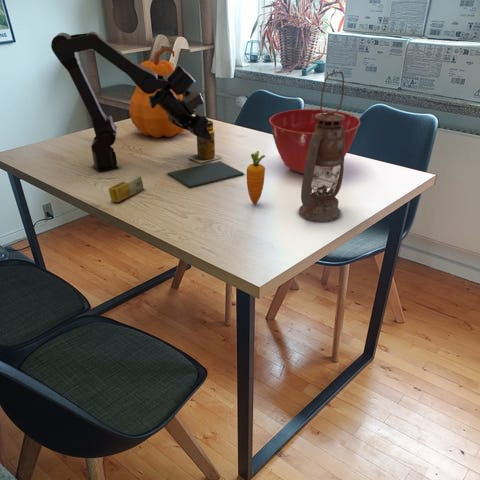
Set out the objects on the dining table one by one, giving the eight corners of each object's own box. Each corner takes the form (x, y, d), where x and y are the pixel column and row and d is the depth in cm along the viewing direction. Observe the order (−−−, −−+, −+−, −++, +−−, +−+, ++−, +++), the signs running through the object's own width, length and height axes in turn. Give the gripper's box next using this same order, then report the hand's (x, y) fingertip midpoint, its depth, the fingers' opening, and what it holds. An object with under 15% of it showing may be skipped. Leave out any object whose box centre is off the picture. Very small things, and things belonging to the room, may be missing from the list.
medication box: (137, 188, 148) (134, 175, 145) (144, 189, 146) (142, 176, 144) (110, 201, 139) (107, 187, 137) (118, 202, 138) (115, 188, 136)
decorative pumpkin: (192, 124, 204) (188, 42, 186) (191, 141, 185) (186, 51, 167) (135, 125, 203) (125, 42, 185) (128, 142, 184) (116, 52, 166)
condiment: (220, 158, 170) (219, 121, 163) (201, 163, 166) (200, 126, 158) (206, 153, 175) (205, 117, 167) (187, 158, 170) (185, 122, 163)
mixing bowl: (259, 179, 154) (261, 128, 145) (275, 151, 177) (278, 105, 167) (350, 187, 149) (358, 135, 140) (355, 157, 171) (362, 111, 162)
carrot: (253, 199, 141) (254, 147, 132) (267, 204, 139) (269, 150, 130) (242, 205, 138) (243, 151, 129) (256, 209, 136) (257, 155, 127)
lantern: (284, 216, 132) (294, 73, 111) (321, 199, 142) (336, 64, 121) (317, 229, 126) (333, 80, 105) (353, 210, 135) (374, 70, 115)
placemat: (189, 188, 148) (189, 186, 148) (167, 174, 157) (167, 172, 157) (243, 174, 157) (243, 173, 157) (219, 162, 166) (219, 161, 166)
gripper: (201, 88, 147) (233, 121, 158) (173, 78, 160) (204, 109, 171) (180, 120, 148) (212, 150, 160) (154, 107, 161) (186, 136, 172)
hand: (204, 135), depth 166 cm, fingers open, 9 cm apart
